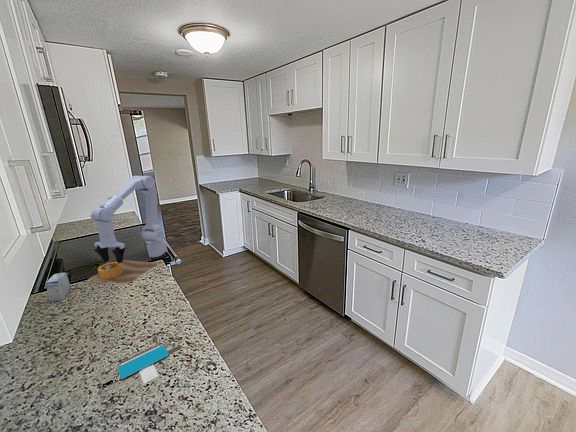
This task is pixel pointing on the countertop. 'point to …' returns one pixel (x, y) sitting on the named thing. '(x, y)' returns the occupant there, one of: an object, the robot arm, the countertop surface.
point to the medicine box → (58, 287)
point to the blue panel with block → (144, 363)
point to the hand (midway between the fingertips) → (113, 261)
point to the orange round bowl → (110, 270)
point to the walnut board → (128, 271)
